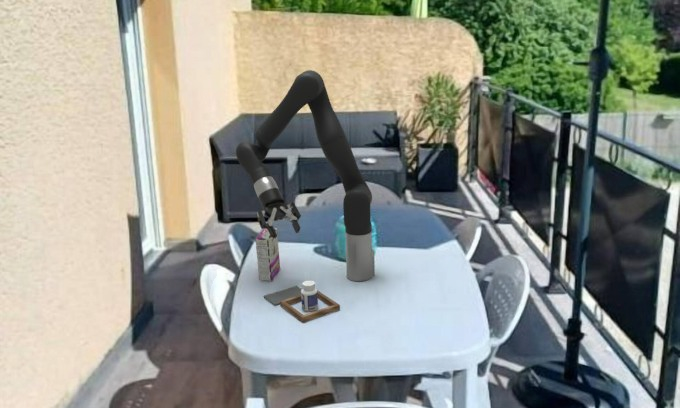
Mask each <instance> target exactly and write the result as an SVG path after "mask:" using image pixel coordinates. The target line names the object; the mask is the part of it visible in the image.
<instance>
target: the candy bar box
mask: <svg viewBox="0 0 680 408" xmlns="http://www.w3.org/2000/svg"><path fill="white" fill-rule="evenodd" d="M274 229H275V231H276V233H277V237H276V238H275V239H273V237H271V236H270V233H269V231H268V229H266V228H264V229H262V230H261V232H259V234H258V236H256V238H255V248H256V258H257V268H258V269H257V271H258V280H261V282H272V281H273V280H274V278H275V277H276V276H277V274H278V273H279V271H280V270H281V266H280V265H281V263H280V251H279V249H280V247H279V238H278V237H279V236H278V228H277V227H274Z"/></svg>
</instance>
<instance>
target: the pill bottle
mask: <svg viewBox="0 0 680 408" xmlns="http://www.w3.org/2000/svg"><path fill="white" fill-rule="evenodd" d="M301 289H302V290H301V302H300V303H301V309H302V311H305V312H314V311H317V310H318V308H319V302H318V295H317V290H318V289H317V288H316V283H315V281H313V280H304V281H303V282H302V288H301Z"/></svg>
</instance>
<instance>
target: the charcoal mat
mask: <svg viewBox="0 0 680 408" xmlns="http://www.w3.org/2000/svg"><path fill="white" fill-rule="evenodd" d="M302 289H303V288H301V287H299V286H298V285H294V286H291V287H288V288H285V289H282V290H278V291H275V292H272V293H268V294H266V295H265V294H264V295H262V296H263V297H264V298H263V299H265V300H266V301H267V302H268V303H270V304H271V305H273V306H274V307H276V306H277V307H278V306H279V305H280V301H282V300H285V299H289V298H292V297H295V296H298V295H301V290H302Z"/></svg>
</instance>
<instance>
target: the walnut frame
mask: <svg viewBox="0 0 680 408" xmlns="http://www.w3.org/2000/svg"><path fill="white" fill-rule="evenodd" d="M317 295H318V299H319V300H320V301H322V302H323V303H325V304H326V305H327V307H323V308H320V309H316V310H315V311H310V312H308V313H306V314H303V313H302V312H300V311H299V310H297V308H295V307H293V306H292V305H295V304H297V303H302V302H301V295H298V296H295V297H292V298H289V299H285V300H282V301H280V307H281V308H282V309H284V310H285V311H286V312H287V313H289V314H290V315H292V317H294V318H296V319H297V320H298V321H300V322H301V323H303V324H304V323H306V322H309V321H312V320H314V319H317V318H321V317H324V316H327V315H329V314H331V313H334V312H335V313H336V312H338V311H341V305H340V304H339V303H337V302H336V301H335V300H333V299H332V298H330V297H329V296H327V295H326V294H324V293H323V292H321V291H319V290H318V289H317Z"/></svg>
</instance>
